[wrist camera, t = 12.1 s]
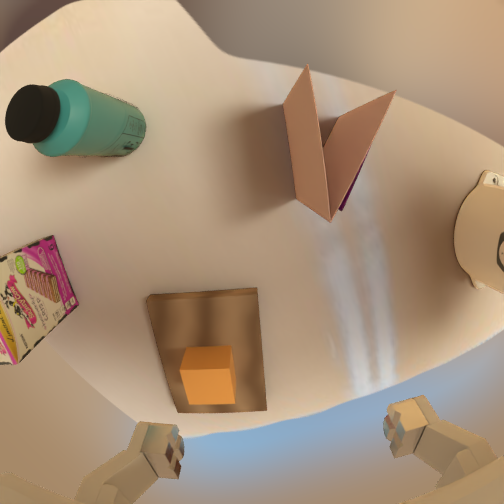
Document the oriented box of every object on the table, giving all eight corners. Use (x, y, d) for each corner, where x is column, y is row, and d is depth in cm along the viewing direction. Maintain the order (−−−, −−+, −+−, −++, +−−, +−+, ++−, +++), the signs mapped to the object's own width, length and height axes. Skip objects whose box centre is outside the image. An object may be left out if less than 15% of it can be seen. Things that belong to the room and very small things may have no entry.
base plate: (257, 287, 38) (257, 294, 36) (266, 401, 43) (266, 410, 42) (150, 294, 38) (146, 301, 36) (179, 404, 44) (177, 412, 42)
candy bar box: (81, 304, 38) (19, 367, 23) (58, 309, 39) (-3, 367, 23) (54, 231, 35) (-26, 269, 20) (32, 240, 36) (-44, 278, 20)
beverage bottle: (128, 96, 31) (28, 48, 12) (163, 128, 32) (74, 95, 13) (95, 136, 32) (-20, 125, 13) (128, 169, 34) (19, 181, 14)
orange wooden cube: (231, 345, 38) (229, 368, 33) (236, 379, 40) (235, 403, 35) (186, 347, 38) (179, 369, 33) (194, 380, 40) (189, 404, 35)
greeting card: (302, 202, 35) (340, 228, 21) (246, 173, 34) (245, 178, 20) (345, 120, 32) (405, 96, 18) (290, 90, 31) (319, 42, 17)
